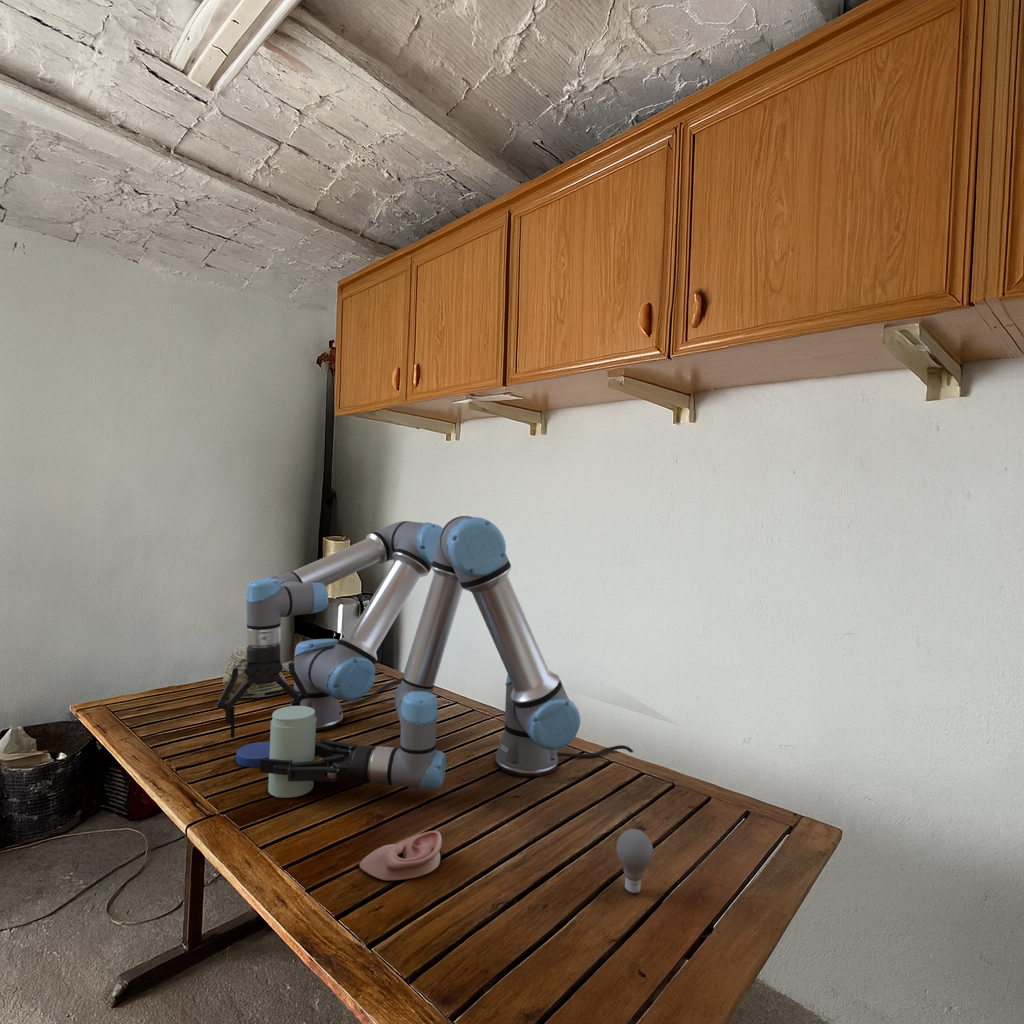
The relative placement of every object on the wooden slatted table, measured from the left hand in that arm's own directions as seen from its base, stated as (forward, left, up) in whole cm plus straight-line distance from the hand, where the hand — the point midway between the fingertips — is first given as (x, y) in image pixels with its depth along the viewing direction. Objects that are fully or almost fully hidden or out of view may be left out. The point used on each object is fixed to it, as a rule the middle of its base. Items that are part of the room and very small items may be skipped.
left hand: (263, 731), depth 152 cm
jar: (+4, +19, -6) cm, 20 cm away
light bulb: (-14, +92, -6) cm, 93 cm away
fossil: (-23, -45, -6) cm, 51 cm away
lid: (+1, 0, -5) cm, 5 cm away
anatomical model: (+7, +58, -6) cm, 58 cm away
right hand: (+7, +15, 0) cm, 16 cm away
